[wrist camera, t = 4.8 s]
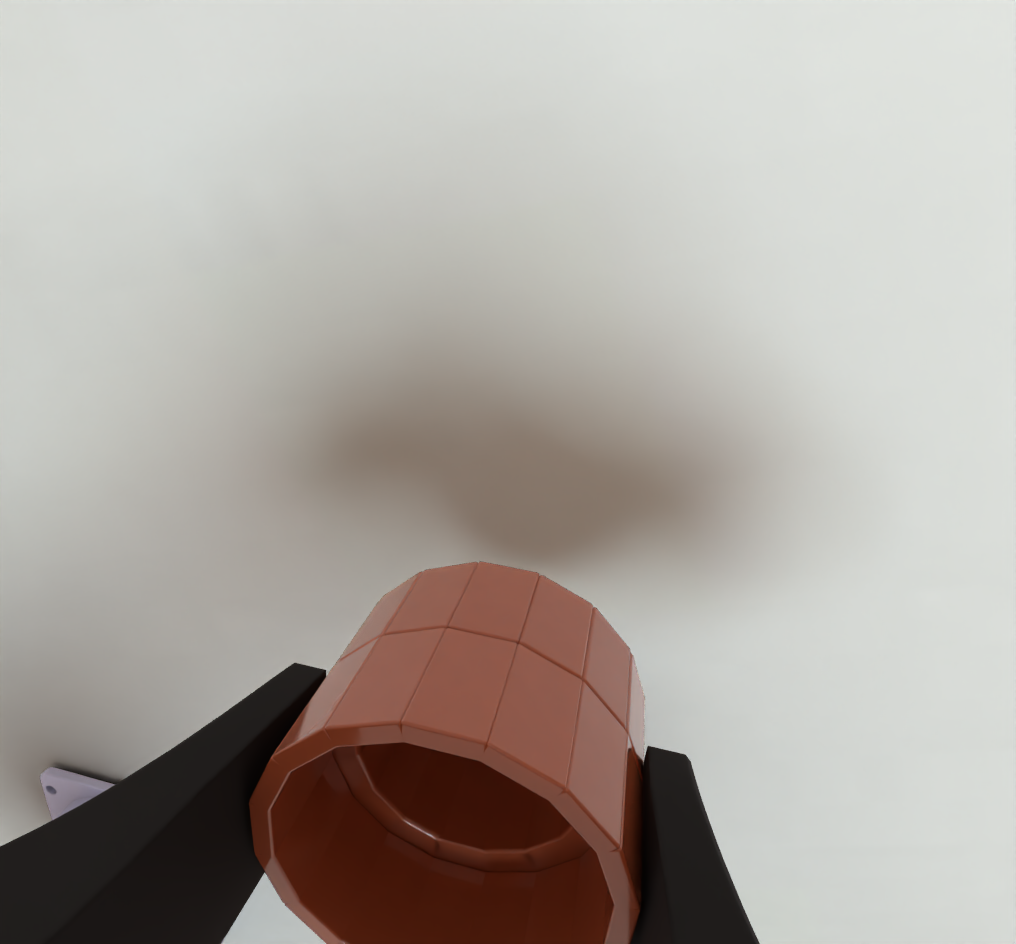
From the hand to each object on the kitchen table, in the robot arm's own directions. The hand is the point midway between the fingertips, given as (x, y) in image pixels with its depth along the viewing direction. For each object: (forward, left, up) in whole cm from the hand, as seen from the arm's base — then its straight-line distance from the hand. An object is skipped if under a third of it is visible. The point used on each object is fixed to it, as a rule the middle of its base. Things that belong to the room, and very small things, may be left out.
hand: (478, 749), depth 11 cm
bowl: (0, 0, -2) cm, 2 cm away
